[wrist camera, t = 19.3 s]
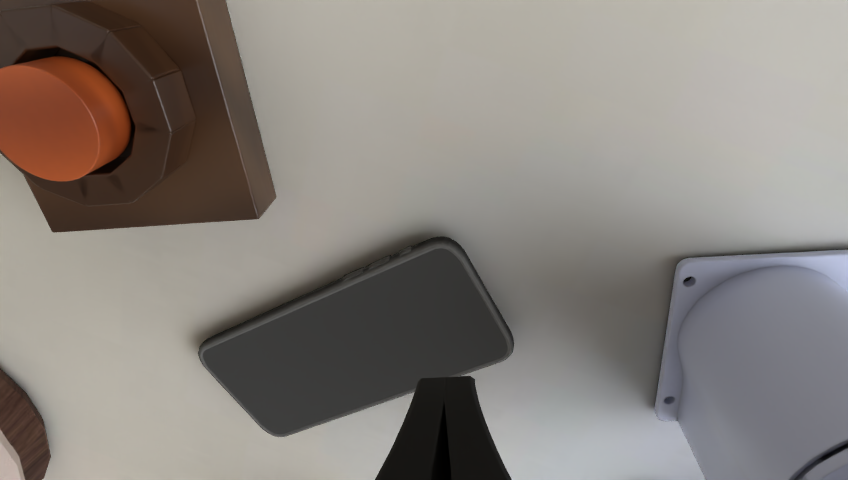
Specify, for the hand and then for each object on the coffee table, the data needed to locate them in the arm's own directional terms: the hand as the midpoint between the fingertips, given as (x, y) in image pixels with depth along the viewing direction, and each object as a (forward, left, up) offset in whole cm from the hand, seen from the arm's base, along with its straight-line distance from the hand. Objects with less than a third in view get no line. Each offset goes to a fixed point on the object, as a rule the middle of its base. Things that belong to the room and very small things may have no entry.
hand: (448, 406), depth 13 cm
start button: (+7, +12, -7) cm, 15 cm away
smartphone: (-6, +6, -10) cm, 13 cm away
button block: (+7, +12, -10) cm, 17 cm away
